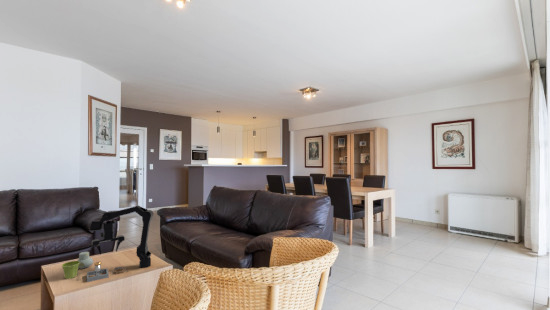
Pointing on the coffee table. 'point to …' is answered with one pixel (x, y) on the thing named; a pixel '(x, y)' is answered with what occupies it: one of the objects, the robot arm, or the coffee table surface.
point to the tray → (98, 275)
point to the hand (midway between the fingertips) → (108, 252)
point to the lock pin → (97, 268)
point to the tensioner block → (118, 270)
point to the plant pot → (70, 269)
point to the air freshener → (84, 260)
